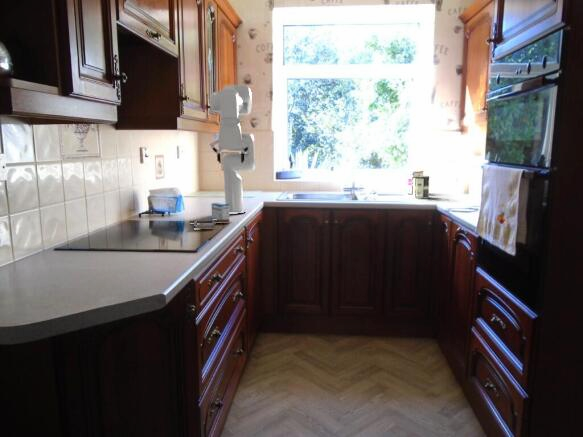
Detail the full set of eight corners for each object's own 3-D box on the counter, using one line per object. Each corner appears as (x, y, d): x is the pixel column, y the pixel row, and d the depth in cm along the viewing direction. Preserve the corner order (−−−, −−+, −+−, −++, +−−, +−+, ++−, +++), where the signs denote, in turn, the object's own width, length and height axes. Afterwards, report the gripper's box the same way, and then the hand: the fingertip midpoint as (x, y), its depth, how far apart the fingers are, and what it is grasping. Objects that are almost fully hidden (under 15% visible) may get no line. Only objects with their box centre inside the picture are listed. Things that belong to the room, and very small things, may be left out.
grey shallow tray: (195, 225, 207) (195, 220, 207) (214, 224, 208) (214, 220, 208) (193, 230, 194) (192, 226, 194) (214, 229, 196) (213, 225, 195)
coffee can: (426, 196, 302) (426, 175, 300) (430, 198, 292) (431, 176, 289) (410, 196, 302) (411, 175, 300) (414, 198, 292) (415, 176, 290)
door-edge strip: (190, 224, 208) (189, 220, 208) (229, 223, 211) (228, 219, 210) (189, 225, 207) (189, 220, 207) (229, 223, 210) (228, 219, 209)
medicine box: (211, 221, 218) (210, 203, 216) (218, 219, 221) (217, 202, 220) (223, 222, 213) (222, 204, 211) (229, 221, 216) (229, 203, 215)
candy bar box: (412, 194, 313) (413, 171, 310) (406, 194, 317) (407, 170, 314) (422, 193, 319) (423, 170, 317) (417, 192, 323) (417, 170, 321)
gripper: (249, 123, 198) (250, 162, 200) (209, 123, 195) (211, 163, 198) (250, 122, 190) (251, 163, 193) (208, 122, 188) (210, 163, 191)
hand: (231, 162), depth 196 cm, fingers open, 9 cm apart
